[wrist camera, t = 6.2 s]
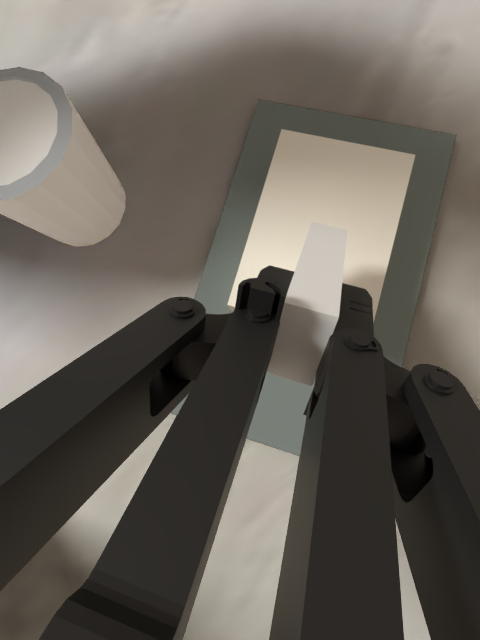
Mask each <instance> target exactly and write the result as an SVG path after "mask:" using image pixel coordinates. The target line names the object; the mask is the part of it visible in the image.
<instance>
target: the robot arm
mask: <svg viewBox="0 0 480 640" xmlns="http://www.w3.org/2000/svg"><path fill="white" fill-rule="evenodd" d="M346 238H347V230H344V229H340V228H335V227H331V226H327V225H323V224H318V223H314V222H312V223H311V226H310V229H309V231H308V234H307V237H306V240H305V243H304V246H303V249H302V252H301V255H300V257H299V260H298V263H297V266H296V269H295V272H294V271H290V270H286V269H282V268H278V267H274V266H271V265H269V266H267V267H266V268H264V269H262V270H261V271H260V273H259V275H258V277H257V278H249V279H246V280H243V281H242V282H241V283H240V284H239V285H238V292H237V298H236V305H235V310H234V311H233V312H232V313H229V314H206V309H205V307H204V306H203V304H202V303H200V302H199V301H197V300H195V299H191V298H188V297H175V298H170V299H167V300H165V301H163V302H162V303H160V304H159V305H157V306H156V307H154V308H153V309H151V310H150V311H148V312H147V313H145V314H144V315H142V316H140V317H139V318H137V319H136V320H134V321H133V322H131V323H130V324H128V325H127V326H125V327H124V328H122V329H121V330H119V331H118V332H116V333H115V334H113V335H112V336H110V337H109V338H107V339H106V340H104V341H103V342H101V343H100V344H98V345H97V346H95V347H94V348H92V349H91V350H89V351H88V352H86V353H85V354H83V355H82V356H80V357H79V358H77V359H76V360H74V361H73V362H71V363H70V364H68V365H67V366H65V367H64V368H62V369H61V370H59V371H58V372H56V373H55V374H53V375H52V376H50V377H49V378H47V379H46V380H44V381H43V382H41V383H40V384H38V385H37V386H35V387H34V388H32V389H31V390H29V391H28V392H26V393H25V394H23V395H21V396H20V397H18V398H17V399H15V400H14V401H12V402H11V403H9V404H8V405H6V406H5V407H3V408H2V409H0V591H1V590H2V589H3V588H4V587H5V586H6V585H7V584H8V583H9V582H10V580H11V579H12V578H13V577H14V576H15V575H16V574H17V573H18V572H19V571H20V570H21V569H22V568H23V567H24V566H25V565H26V564H27V563H28V562H29V561H30V560H31V558H32V557H33V556H34V555H35V554H36V553H37V552H38V551H39V550H40V549H41V548H42V547H43V546H44V545H45V544H46V543H47V542H48V541H49V540H50V539H51V537H52V536H53V535H54V534H55V533H56V532H57V531H58V530H59V529H60V528H61V527H62V526H63V525H64V524H65V523H66V522H67V521H68V520H69V519H70V518H71V517H72V515H73V514H74V513H75V512H76V511H77V510H78V509H79V508H80V507H81V506H82V505H83V504H84V503H85V502H86V501H87V500H88V499H89V498H90V497H91V496H92V495H93V493H94V492H95V491H96V490H97V489H98V488H99V487H100V486H101V485H102V484H103V483H104V482H105V481H106V480H107V479H108V478H109V477H110V476H111V475H112V474H113V472H114V471H115V470H116V469H117V468H118V467H119V466H120V465H121V464H122V463H123V462H124V461H125V460H126V459H127V458H128V457H129V456H130V455H131V454H132V453H133V452H134V450H135V449H136V448H137V447H138V446H139V445H140V444H141V443H142V442H143V441H144V440H145V439H146V438H147V437H148V436H149V435H150V434H151V433H152V432H153V431H154V429H155V428H156V427H157V426H158V425H159V424H160V423H161V422H162V421H163V420H164V419H165V418H166V417H167V416H168V415H169V414H170V413H171V412H172V411H173V410H174V409H175V407H176V406H177V405H178V404H179V403H180V402H181V401H182V400H183V399H184V398H185V397H186V396H187V395H188V396H187V398H186V400H185V402H184V404H183V405H182V407H181V409H180V411H179V413H178V415H177V416H176V418H175V420H174V422H173V424H172V426H171V427H170V429H169V431H168V433H167V435H166V437H165V439H164V440H163V442H162V444H161V446H160V448H159V450H158V451H157V453H156V455H155V457H154V459H153V461H152V463H151V464H150V466H149V468H148V470H147V472H146V474H145V475H144V477H143V479H142V481H141V483H140V485H139V486H138V488H137V490H136V492H135V494H134V496H133V498H132V499H131V501H130V503H129V505H128V507H127V509H126V510H125V512H124V514H123V516H122V518H121V520H120V521H119V523H118V525H117V527H116V529H115V531H114V533H113V534H112V536H111V538H110V540H109V542H108V544H107V545H106V547H105V549H104V551H103V553H102V555H101V556H100V558H99V560H98V562H97V564H96V566H95V568H94V569H93V571H92V573H91V574H90V576H89V578H88V579H87V580H86V582H85V583H84V584H83V586H82V587H81V588H80V589H79V590H77V591H76V592H75V593H74V594H72V595H71V596H70V597H69V598H68V599H67V600H66V601H65V602H64V603H63V605H62V606H61V607H60V609H59V610H58V611H57V612H56V614H55V615H54V617H53V618H52V620H51V621H50V623H49V624H48V626H47V628H46V629H45V631H44V632H43V634H42V636H41V637H40V639H39V640H183V636H184V633H185V630H186V627H187V624H188V621H189V618H190V614H191V611H192V608H193V605H194V602H195V599H196V595H197V592H198V589H199V586H200V583H201V580H202V576H203V573H204V570H205V567H206V564H207V561H208V558H209V554H210V551H211V548H212V545H213V542H214V539H215V535H216V532H217V529H218V526H219V523H220V520H221V516H222V513H223V510H224V507H225V504H226V501H227V497H228V494H229V491H230V488H231V485H232V482H233V479H234V475H235V472H236V469H237V466H238V463H239V460H240V456H241V453H242V450H243V447H244V444H245V441H246V437H247V434H248V431H249V428H250V425H251V422H252V419H253V415H254V412H255V409H256V406H257V403H258V400H259V396H260V393H261V390H262V387H263V384H264V380H265V376H266V372H267V373H270V374H274V375H277V376H280V377H283V378H287V379H290V380H293V381H296V382H300V383H303V384H306V385H309V386H312V385H313V383H314V380H315V384H314V388H313V391H312V393H311V396H310V398H309V401H308V403H307V406H306V408H305V411H304V414H303V415H306V422H305V428H304V434H303V440H302V446H301V452H300V458H299V464H298V470H297V476H296V482H295V488H294V494H293V500H292V506H291V512H290V518H289V524H288V530H287V536H286V542H285V548H284V554H283V560H282V566H281V572H280V578H279V584H278V590H277V596H276V602H275V608H274V614H273V620H272V626H271V632H270V638H269V640H404V633H403V620H402V606H401V592H400V579H399V565H398V551H397V537H396V524H395V518H396V522H397V525H398V529H399V532H400V535H401V539H402V542H403V546H404V549H405V552H406V556H407V559H408V563H409V566H410V569H411V573H412V576H413V580H414V583H415V586H416V590H417V593H418V597H419V600H420V603H421V607H422V610H423V613H424V617H425V620H426V624H427V627H428V630H429V634H430V637H431V640H480V411H479V409H478V408H477V406H476V404H475V403H474V401H473V400H472V398H471V396H470V395H469V393H468V392H467V390H466V388H465V387H464V386H463V384H462V383H461V382H460V381H459V380H458V379H457V378H456V377H455V376H453V375H452V374H451V373H449V372H448V371H446V370H444V369H442V368H440V367H437V366H433V365H429V364H419V365H417V366H415V367H413V368H412V370H411V372H410V371H408V370H406V369H404V368H402V367H400V366H398V365H396V364H394V363H393V362H391V361H389V360H388V359H387V358H385V357H384V356H383V349H382V347H381V344H380V343H379V342H378V341H377V339H376V338H375V337H374V324H373V308H372V307H373V303H372V297H371V296H370V294H369V293H368V291H367V290H366V289H364V288H360V287H356V286H352V285H348V284H344V283H342V280H343V269H344V259H345V248H346Z"/></svg>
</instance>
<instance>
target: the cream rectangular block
mask: <svg viewBox="0 0 480 640" xmlns="http://www.w3.org/2000/svg"><path fill="white" fill-rule="evenodd" d="M414 159H415V155H414V154H409V153H404V152H398V151H393V150H388V149H383V148H378V147H372V146H367V145H362V144H357V143H352V142H346V141H341V140H336V139H331V138H325V137H320V136H315V135H310V134H305V133H299V132H294V131H289V130H284V129H281V133H280V136H279V139H278V142H277V146H276V149H275V152H274V155H273V158H272V162H271V165H270V168H269V171H268V175H267V178H266V181H265V184H264V188H263V191H262V194H261V197H260V200H259V204H258V207H257V210H256V213H255V217H254V220H253V223H252V226H251V230H250V233H249V236H248V239H247V243H246V246H245V249H244V252H243V255H242V259H241V262H240V265H239V268H238V272H237V275H236V278H235V281H234V285H233V288H232V291H231V294H230V297H229V301H228V304H227V305H228V307H229V308H230V310H231V311H232V312H233V311H234V310H235V305H236V298H237V292H238V285H239V284H240V283H241V282H242V281H243V280H246V279H249V278H257V277H258V275H259V273H260V271H261V270H262V269H264V268H266V267H267V266H269V265H271V266H274V267H278V268H282V269H286V270H290V271H294V272H295V269H296V266H297V263H298V260H299V257H300V255H301V252H302V249H303V246H304V243H305V240H306V237H307V234H308V231H309V229H310V226H311V223H312V222H314V223H318V224H323V225H327V226H331V227H335V228H340V229H344V230H347V238H346V248H345V259H344V269H343V280H342V283H344V284H348V285H352V286H356V287H360V288H364V289H366V290H367V291H368V293H369V294H370V296H371V297H372V303H373V307H372V308H373V323H374V319H375V315H376V311H377V307H378V303H379V299H380V295H381V291H382V287H383V283H384V279H385V275H386V271H387V267H388V263H389V259H390V255H391V251H392V247H393V243H394V239H395V235H396V231H397V227H398V223H399V219H400V215H401V211H402V207H403V203H404V199H405V195H406V191H407V187H408V183H409V179H410V175H411V171H412V167H413V163H414Z"/></svg>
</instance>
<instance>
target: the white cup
mask: <svg viewBox="0 0 480 640" xmlns="http://www.w3.org/2000/svg"><path fill="white" fill-rule="evenodd" d="M125 209H126V197H125V191H124V189H123V187H122V185H121V183H120V181H119V179H118V177H117V176H116V174H115V172H114V171H113V169H112V168H111V166H110V164H109V163H108V161H107V159H106V158H105V156H104V155H103V153H102V151H101V150H100V148H99V146H98V145H97V143H96V141H95V140H94V138H93V137H92V135H91V133H90V132H89V130H88V128H87V127H86V125H85V124H84V122H83V120H82V119H81V117H80V115H79V114H78V112H77V111H76V109H75V107H74V106H73V104H72V102H71V101H70V99H69V97H68V96H67V94H66V93H65V91H64V89H63V88H62V87H61V86H60V85H59V84H58V83H56V82H55V81H54V80H52V79H51V78H50V77H48V76H47V75H46V74H45V73H43V72H39V71H34V70H30V69H25V68H20V67H17V68H11V69H5V70H0V214H2V215H4V216H6V217H8V218H10V219H12V220H15V221H17V222H19V223H21V224H23V225H25V226H27V227H30V228H32V229H34V230H36V231H38V232H40V233H43V234H45V235H47V236H49V237H51V238H53V239H55V240H58V241H60V242H62V243H65V244H68V245H72V246H75V247H81V246H89V245H94V244H96V243H98V242H100V241H102V240H104V239H106V238H107V237H109V236H110V234H111V233H112V232H113V231H114V230H115V229H116V228H117V227H118V226H119V225H120V222H121V220H122V217H123V215H124V212H125Z"/></svg>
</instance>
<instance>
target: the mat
mask: <svg viewBox="0 0 480 640" xmlns="http://www.w3.org/2000/svg"><path fill="white" fill-rule="evenodd" d="M281 129H284V130H289V131H294V132H299V133H305V134H310V135H315V136H320V137H325V138H331V139H336V140H341V141H346V142H352V143H357V144H362V145H367V146H372V147H378V148H383V149H388V150H393V151H398V152H404V153H409V154H414V155H415V159H414V163H413V167H412V171H411V175H410V179H409V183H408V187H407V191H406V195H405V199H404V203H403V207H402V211H401V215H400V219H399V223H398V227H397V231H396V235H395V239H394V243H393V247H392V251H391V255H390V259H389V263H388V267H387V271H386V275H385V279H384V283H383V287H382V291H381V295H380V299H379V303H378V307H377V311H376V315H375V319H374V323H373V324H374V337H375V338H376V339H377V341H378V342H379V343H380V344H381V347H382V349H383V356H384V357H385V358H387V359H388V360H389V361H391V362H393V363H394V364H396V365H398V366H400V367H402V364H403V360H404V356H405V351H406V347H407V343H408V339H409V334H410V330H411V326H412V322H413V317H414V313H415V309H416V305H417V300H418V296H419V292H420V288H421V283H422V279H423V275H424V270H425V266H426V262H427V258H428V253H429V249H430V245H431V241H432V236H433V232H434V228H435V224H436V219H437V215H438V211H439V206H440V202H441V198H442V194H443V189H444V185H445V181H446V177H447V172H448V168H449V164H450V160H451V155H452V151H453V147H454V143H455V138H456V135H453V134H447V133H442V132H436V131H431V130H425V129H420V128H414V127H409V126H403V125H397V124H392V123H386V122H381V121H375V120H370V119H364V118H359V117H353V116H348V115H342V114H336V113H331V112H325V111H320V110H314V109H309V108H303V107H298V106H292V105H287V104H281V103H276V102H270V101H264V100H258V103H257V106H256V109H255V112H254V116H253V119H252V122H251V125H250V128H249V131H248V134H247V137H246V140H245V143H244V147H243V150H242V153H241V156H240V159H239V162H238V165H237V168H236V171H235V174H234V177H233V181H232V184H231V187H230V190H229V193H228V196H227V199H226V202H225V205H224V208H223V212H222V215H221V218H220V221H219V224H218V227H217V230H216V233H215V236H214V239H213V242H212V246H211V249H210V252H209V255H208V258H207V261H206V264H205V267H204V270H203V273H202V277H201V280H200V283H199V286H198V289H197V292H196V295H195V298H194V299H195V300H197V301H199V302H200V303H202V304H203V306H204V307H205V309H206V314H229V313H232V311H231V310H230V308H229V307H228V305H227V304H228V301H229V297H230V294H231V291H232V288H233V285H234V281H235V278H236V275H237V272H238V268H239V265H240V262H241V259H242V255H243V252H244V249H245V246H246V243H247V239H248V236H249V233H250V230H251V226H252V223H253V220H254V217H255V213H256V210H257V207H258V204H259V200H260V197H261V194H262V191H263V188H264V184H265V181H266V178H267V175H268V171H269V168H270V165H271V162H272V158H273V155H274V152H275V149H276V146H277V142H278V139H279V136H280V133H281ZM314 384H315V380H314V383H313V385H312V386H309V385H306V384H303V383H300V382H296V381H293V380H290V379H287V378H283V377H280V376H277V375H274V374H270V373H267V372H266V376H265V380H264V384H263V387H262V390H261V393H260V396H259V400H258V403H257V406H256V409H255V412H254V415H253V419H252V422H251V425H250V428H249V431H248V434H247V437H246V438H247V439H250V440H253V441H256V442H259V443H262V444H265V445H268V446H271V447H274V448H277V449H280V450H283V451H286V452H289V453H292V454H295V455H298V456H300V452H301V446H302V440H303V434H304V428H305V422H306V415H303V414H304V411H305V408H306V406H307V403H308V401H309V398H310V396H311V393H312V391H313V388H314ZM187 396H188V395H187ZM187 396H186V397H185V398H184V399H183V400H182V401H181V402H180V403H179V404H178V405H177V406H176V407H175V409H174V410H173V411H172V412H171V413H172V414H175V415H178V413H179V411H180V409H181V407H182V405H183V404H184V402H185V400H186V398H187Z"/></svg>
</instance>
